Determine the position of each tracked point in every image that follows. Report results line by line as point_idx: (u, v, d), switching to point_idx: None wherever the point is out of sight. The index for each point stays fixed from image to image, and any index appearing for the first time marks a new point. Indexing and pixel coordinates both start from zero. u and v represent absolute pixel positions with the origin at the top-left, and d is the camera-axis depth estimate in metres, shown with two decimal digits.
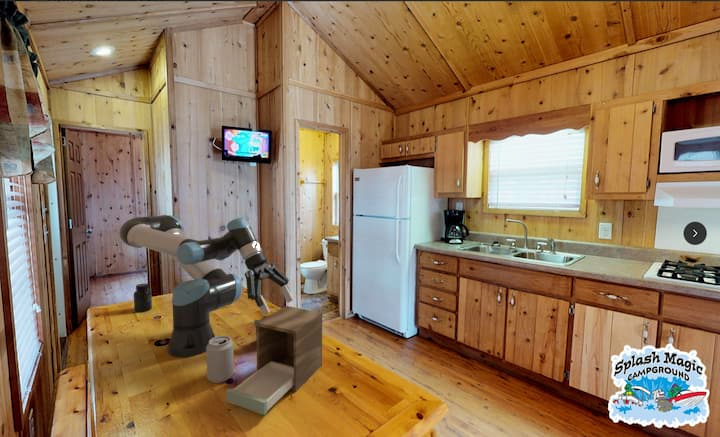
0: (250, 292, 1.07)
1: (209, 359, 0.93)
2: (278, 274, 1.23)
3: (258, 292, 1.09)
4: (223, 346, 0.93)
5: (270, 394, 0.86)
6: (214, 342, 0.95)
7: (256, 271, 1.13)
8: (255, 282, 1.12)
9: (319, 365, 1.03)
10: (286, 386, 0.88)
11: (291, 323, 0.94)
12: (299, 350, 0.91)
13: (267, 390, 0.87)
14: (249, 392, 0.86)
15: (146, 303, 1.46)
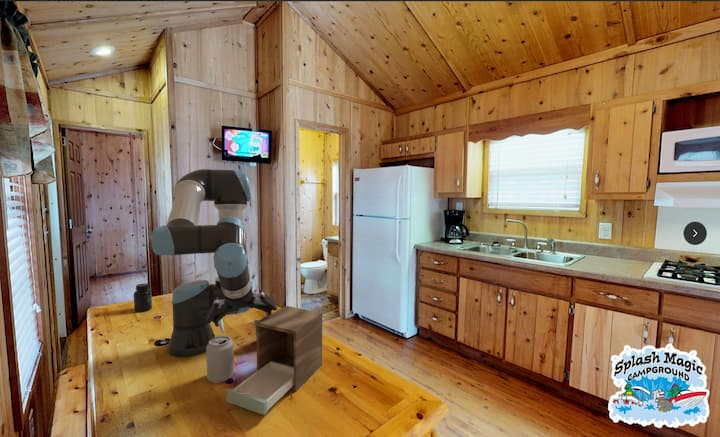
0: (207, 318, 0.93)
1: (209, 359, 0.93)
2: None
3: (217, 320, 0.94)
4: (223, 346, 0.93)
5: (270, 394, 0.86)
6: (214, 342, 0.95)
7: (227, 305, 0.90)
8: (224, 307, 0.93)
9: (319, 365, 1.03)
10: (286, 386, 0.88)
11: (291, 323, 0.94)
12: (299, 350, 0.91)
13: (267, 390, 0.87)
14: (249, 392, 0.86)
15: (146, 303, 1.46)
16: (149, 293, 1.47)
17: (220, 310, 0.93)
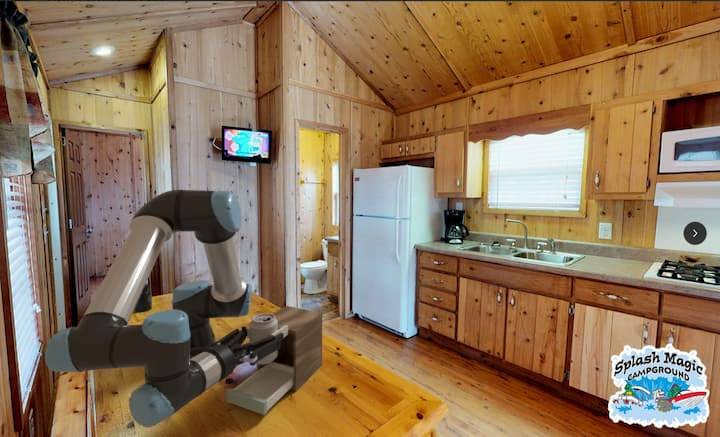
0: None
1: (253, 338, 0.83)
2: None
3: None
4: (268, 323, 0.84)
5: (270, 394, 0.86)
6: (258, 319, 0.86)
7: None
8: None
9: (319, 365, 1.03)
10: (286, 386, 0.88)
11: (291, 323, 0.94)
12: (299, 350, 0.91)
13: (267, 390, 0.87)
14: (249, 392, 0.86)
15: (146, 303, 1.46)
16: (149, 293, 1.47)
17: None
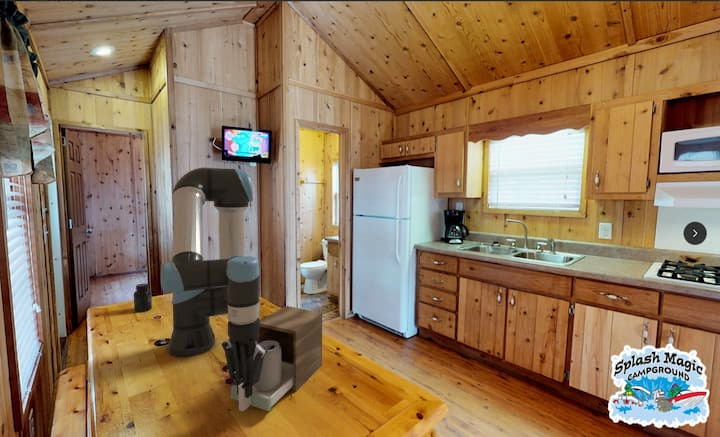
0: None
1: None
2: None
3: (237, 378, 0.80)
4: (272, 352, 0.86)
5: (274, 391, 0.87)
6: (262, 348, 0.88)
7: (230, 341, 0.80)
8: None
9: (319, 365, 1.03)
10: (289, 383, 0.89)
11: (291, 323, 0.94)
12: (299, 350, 0.91)
13: None
14: (253, 389, 0.88)
15: (146, 303, 1.46)
16: (149, 293, 1.47)
17: None
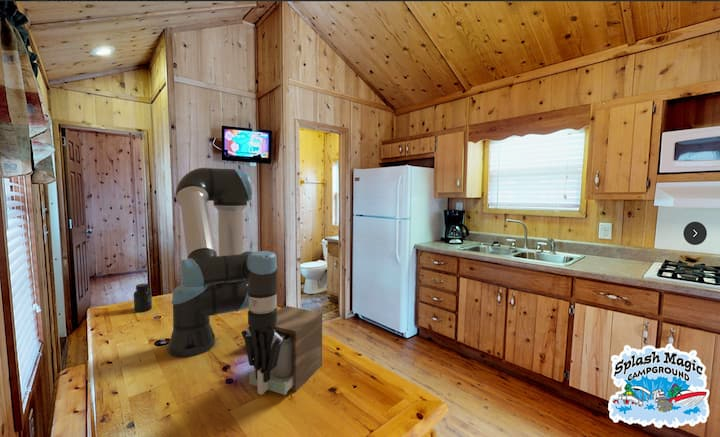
0: None
1: None
2: None
3: (256, 364, 0.86)
4: (288, 341, 0.93)
5: (288, 377, 0.93)
6: None
7: (250, 329, 0.86)
8: None
9: (319, 365, 1.03)
10: None
11: (291, 323, 0.94)
12: (299, 350, 0.91)
13: None
14: None
15: (146, 303, 1.46)
16: (149, 293, 1.47)
17: None
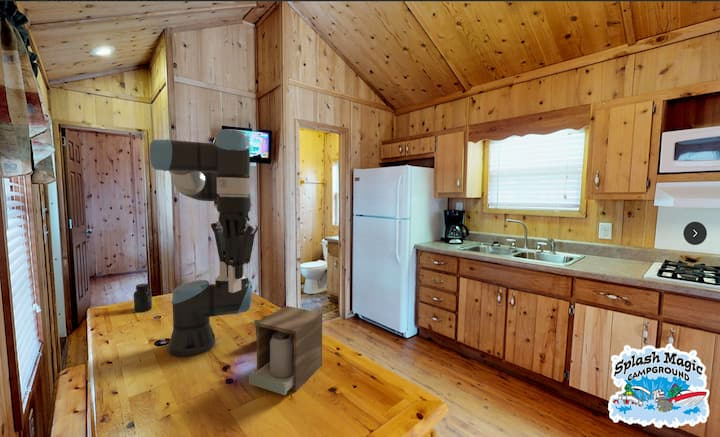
0: None
1: (274, 355, 0.92)
2: None
3: (226, 259, 0.77)
4: (287, 341, 0.93)
5: (288, 377, 0.93)
6: (277, 337, 0.94)
7: (220, 220, 0.77)
8: None
9: (319, 365, 1.03)
10: None
11: (291, 323, 0.94)
12: (299, 350, 0.91)
13: None
14: (269, 376, 0.94)
15: (146, 303, 1.46)
16: (149, 293, 1.47)
17: None
